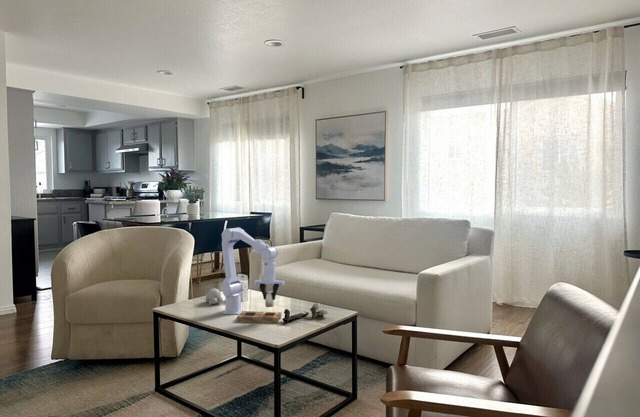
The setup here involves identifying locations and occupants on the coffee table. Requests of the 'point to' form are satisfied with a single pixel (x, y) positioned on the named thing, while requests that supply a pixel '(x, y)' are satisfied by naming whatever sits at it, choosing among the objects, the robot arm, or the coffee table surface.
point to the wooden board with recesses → (259, 317)
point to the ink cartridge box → (245, 287)
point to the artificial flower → (313, 310)
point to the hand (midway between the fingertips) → (269, 299)
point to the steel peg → (269, 299)
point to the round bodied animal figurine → (213, 296)
